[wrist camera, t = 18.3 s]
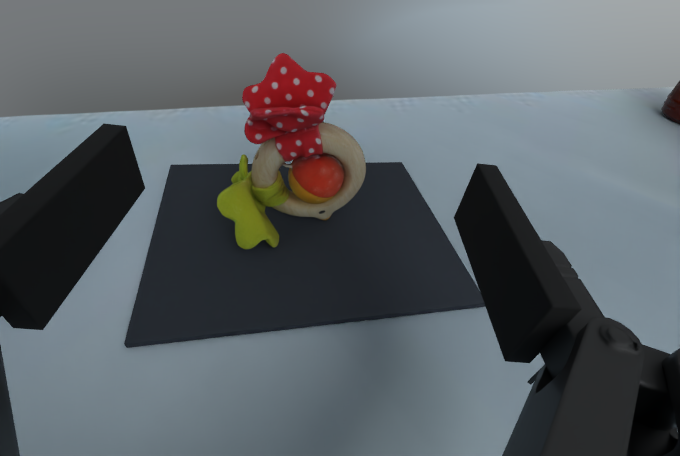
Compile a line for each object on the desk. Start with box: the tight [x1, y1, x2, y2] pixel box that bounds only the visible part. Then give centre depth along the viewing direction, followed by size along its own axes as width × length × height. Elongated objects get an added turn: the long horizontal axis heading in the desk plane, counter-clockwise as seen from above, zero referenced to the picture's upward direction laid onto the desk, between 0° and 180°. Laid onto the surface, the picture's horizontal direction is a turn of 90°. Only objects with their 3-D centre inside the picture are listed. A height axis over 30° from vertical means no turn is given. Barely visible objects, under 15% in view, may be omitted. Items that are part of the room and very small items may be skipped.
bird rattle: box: [217, 53, 366, 249], centre depth 22 cm, size 6×11×9 cm
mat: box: [124, 162, 485, 348], centre depth 25 cm, size 20×16×1 cm
